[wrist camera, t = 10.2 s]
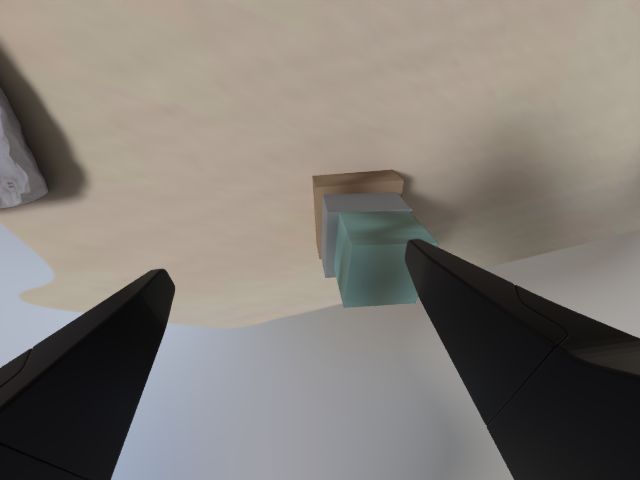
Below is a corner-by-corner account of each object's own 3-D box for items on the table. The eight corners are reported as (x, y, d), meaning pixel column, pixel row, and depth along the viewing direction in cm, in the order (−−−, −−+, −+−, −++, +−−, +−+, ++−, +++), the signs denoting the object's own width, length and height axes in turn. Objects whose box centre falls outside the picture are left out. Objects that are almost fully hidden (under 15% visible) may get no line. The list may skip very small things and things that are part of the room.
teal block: (408, 210, 17) (438, 242, 14) (394, 265, 20) (415, 302, 16) (339, 211, 16) (352, 245, 13) (334, 268, 19) (343, 307, 16)
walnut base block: (390, 168, 21) (404, 180, 19) (382, 234, 25) (392, 251, 23) (312, 174, 21) (315, 187, 18) (316, 240, 25) (319, 259, 22)
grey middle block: (396, 192, 19) (412, 209, 17) (384, 251, 23) (395, 273, 20) (322, 194, 19) (327, 212, 16) (321, 255, 22) (325, 277, 20)
